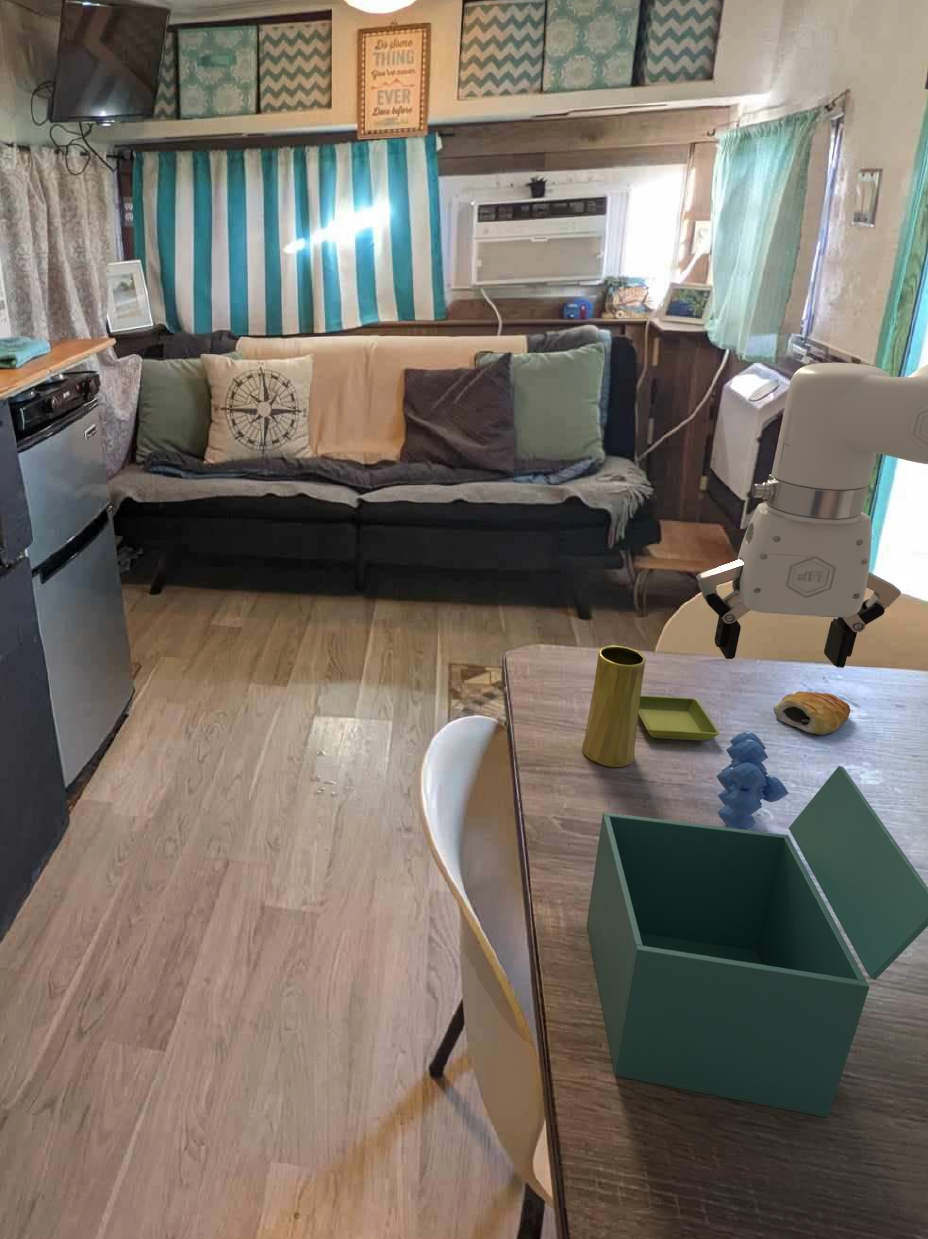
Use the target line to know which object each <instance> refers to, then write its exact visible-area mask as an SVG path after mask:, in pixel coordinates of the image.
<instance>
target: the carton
mask: <svg viewBox="0 0 928 1239" xmlns="http://www.w3.org/2000/svg"><path fill="white" fill-rule="evenodd" d="M598 837H599V838H598V843H597V844H598V845H597V852H596V857H595V865H594V870H593V871H594V872H593V878H592V886H591V891H590V898H589V906H588V912H587V919H586V929H587V934H588V940H589V946H590V950H591V956H592V962H593V967H594V972H595V978H596V983H597V988H598V994H599V998H600V1005H601V1009H602V1014H603V1015H602V1016H603V1021H604V1026H605V1032H606V1036H607V1042H608V1047H609V1053H610V1058H611V1063H612V1069H613V1073H614V1074H613V1075H614V1076H615V1077H618V1078H623V1079H629V1080H634V1081H638V1082H644V1083H647V1084H654V1085H659V1086H664V1087H669V1088H674V1089H680V1090H684V1091H690V1092H695V1093H698V1094H699V1093H700V1094H703V1095H710V1096H715V1097H720V1098H724V1099H730V1100H735V1101H741V1102H744V1103H745V1102H746V1103H750V1104H756V1105H761V1106H765V1107H770V1108H775V1109H781V1110H786V1111H791V1112H797V1113H802V1114H805V1115H806V1114H807V1115H810V1116H815V1117H822V1118H826V1119H828V1118H829V1117H830V1113H831V1111H832V1107H833V1104H834V1101H835V1098H836V1095H837V1092H838V1089H839V1086H840V1082H841V1079H842V1076H843V1073H844V1069H845V1067H846V1063H847V1061H848V1057H849V1054H850V1050H851V1047H852V1045H853V1041H854V1037H855V1035H856V1031H857V1029H858V1026H859V1022H860V1018H861V1016H862V1013H863V1009H864V1007H865V1004H866V1003H865V1002H866V1000H867V996H868V993H869V990H870V985H869V983H868V981H867V979H866V977H865V975H864V973H863V972H862V969H861V968H860V966H859V965H858V962H857V961H856V959H855V957H854V955H853V953H852V951H851V949H850V948H849V946H848V944H847V942H846V940H845V938H844V936H843V935H842V932H841V930H840V929H839V927H838V925H837V924H836V921H835V919H834V918H833V916H832V914H831V912H830V909H829V908H828V907H827V904H826V902H825V901H824V899H823V898H822V895H821V893H820V891H819V889H818V888H817V886H816V884H815V881H813V878H812V877H811V875H810V873H809V871H808V869H807V867H806V866H805V864H804V862H803V860H802V858H801V856H800V854H799V852H798V851H797V849H796V847H795V845H794V843H793V841H792V839H791V838H790V836H789V835H788V834H783V833H775V832H774V833H773V832H768V831H767V832H766V831H760V830H758V831H757V830H751V829H747V830H743V829H735V828H729V827H727V826H726V827H725V826H718V825H710V824H702V823H693V822H684V821H679V820H678V821H677V820H668V819H660V818H653V817H643V816H637V815H636V816H635V815H628V814H621V813H612V812H602V818H601V823H600V830H599V836H598Z"/></svg>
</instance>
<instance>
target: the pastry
mask: <svg viewBox="0 0 928 1239" xmlns="http://www.w3.org/2000/svg"><path fill="white" fill-rule="evenodd" d="M772 711H773V713H774V715H775V718H776V719H777V720H778V721H779V722H782V723H784V724H786V725H788V726H791V727H794V728H797V729H799V730H801V731H803V732H806V733H809V734H814V735H817V736H820V735H821V736H822V735H829V734H831V733H834V732H836V731H838V730H839V729H840V728H841V727H842V726H843V725H844V724H845V723H846V722H847V720H848V719H849V717H850V714H851V707H850V704H849V703H848V702H846V701H844V700H843V699H841V698H839V697H838V696H836V695H834V694H832V693H827V692H826V693H825V692H823V693H821V692H817V691H813V692H812V691H799V690H798V691H796V692H795V693H794V694H793V693H788V694H786V695H785V696H784V697H782V699H781V701H780V702H778V704H777V705H774V706H773V710H772Z"/></svg>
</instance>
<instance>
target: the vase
mask: <svg viewBox="0 0 928 1239" xmlns="http://www.w3.org/2000/svg"><path fill="white" fill-rule="evenodd" d="M646 662H647V659H646V657H645V655H644V654H643V653H642V652H640V651H639V650H636V649H634V648H631V647H628V646H623V645H607V646H603V647H602V648H600V649H599V651H598V655H597V661H596V669H595V676H594V677H595V678H594V684H593V688H592V695H591V700H590V704H589V705H590V706H589V712H588V717H587V721H586V728H585V734H584V738H583V742H582V745H581V749H582V753H583V754H584V755H585V757H586V758H587V759H589V760H590V761H592V762H594V763H596V764H598V765H601V766H603V767H608V768H623V767H628V766H629V765H631V764H632V763H633V762H634V761H635V748H636V739H637V730H638V719H639V714H638V712H639V705H640V696H642V688H643V687H642V686H643V680H644V674H645V668H646Z"/></svg>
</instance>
